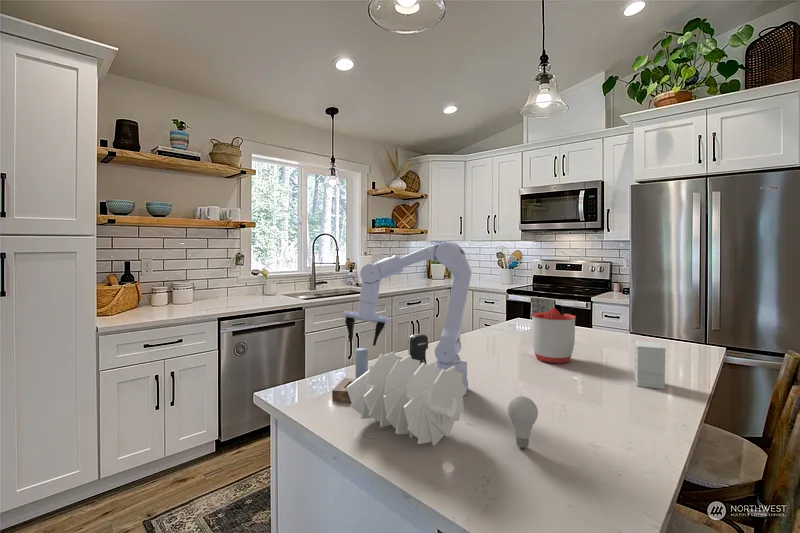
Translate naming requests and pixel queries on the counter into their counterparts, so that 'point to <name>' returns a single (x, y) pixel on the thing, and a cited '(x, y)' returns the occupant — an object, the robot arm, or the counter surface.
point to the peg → (361, 361)
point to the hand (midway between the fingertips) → (362, 342)
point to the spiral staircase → (409, 397)
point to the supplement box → (650, 364)
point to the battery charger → (418, 347)
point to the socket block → (342, 391)
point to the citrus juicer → (553, 336)
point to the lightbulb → (522, 418)
